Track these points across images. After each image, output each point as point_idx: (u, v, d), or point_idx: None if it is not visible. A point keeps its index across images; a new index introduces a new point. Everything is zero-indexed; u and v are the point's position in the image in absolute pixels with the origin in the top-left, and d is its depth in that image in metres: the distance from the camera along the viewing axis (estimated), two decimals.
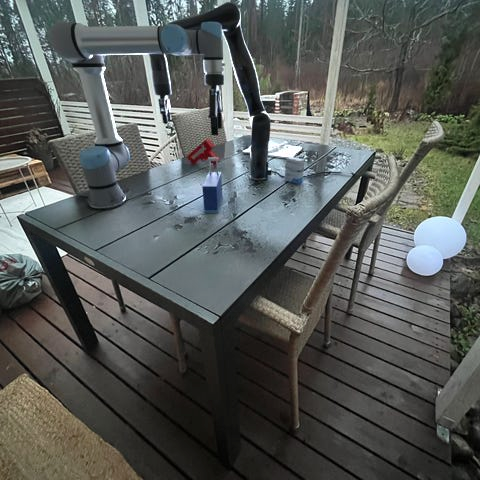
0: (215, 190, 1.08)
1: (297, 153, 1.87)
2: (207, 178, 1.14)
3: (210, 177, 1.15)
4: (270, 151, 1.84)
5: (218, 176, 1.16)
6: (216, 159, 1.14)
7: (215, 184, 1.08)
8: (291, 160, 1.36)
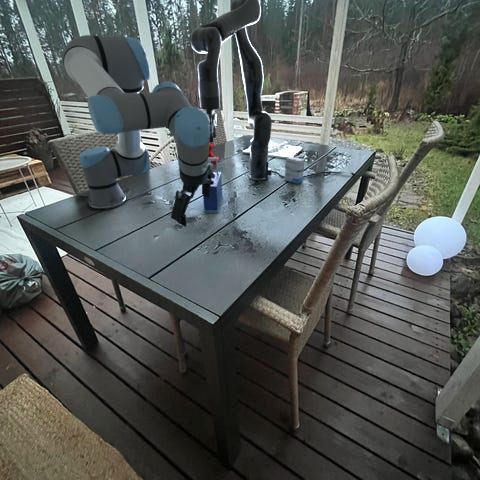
0: (215, 190, 1.08)
1: (297, 153, 1.87)
2: None
3: None
4: (270, 151, 1.84)
5: (218, 176, 1.16)
6: (216, 159, 1.14)
7: (215, 184, 1.08)
8: (291, 160, 1.36)
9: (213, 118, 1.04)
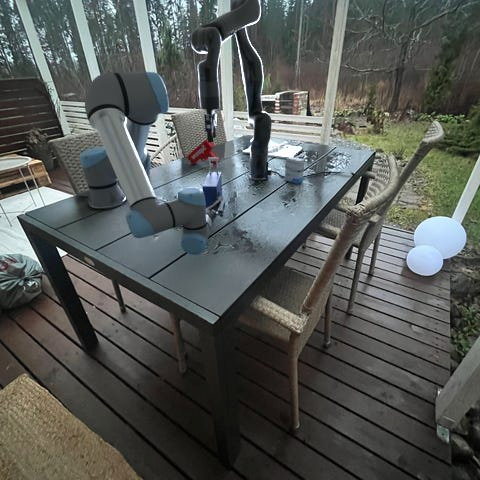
0: (215, 190, 1.08)
1: (297, 153, 1.87)
2: (207, 178, 1.14)
3: (210, 177, 1.15)
4: (270, 151, 1.84)
5: (218, 176, 1.16)
6: (216, 159, 1.14)
7: (215, 184, 1.08)
8: (291, 160, 1.36)
9: (213, 118, 1.04)
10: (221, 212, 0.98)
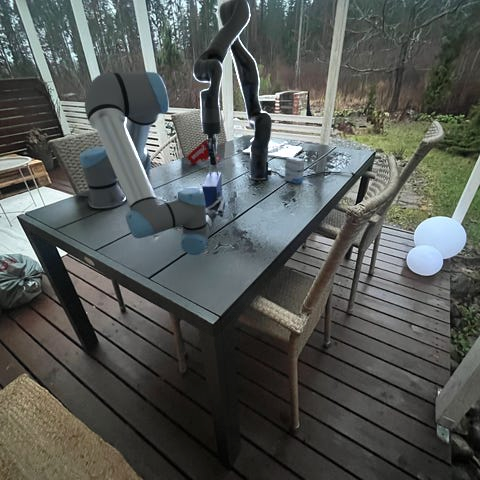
0: (215, 190, 1.07)
1: (297, 153, 1.87)
2: (207, 178, 1.14)
3: (210, 177, 1.15)
4: (270, 151, 1.84)
5: (218, 176, 1.16)
6: (216, 159, 1.14)
7: (215, 184, 1.08)
8: (291, 160, 1.36)
9: (215, 143, 1.09)
10: (221, 212, 0.98)
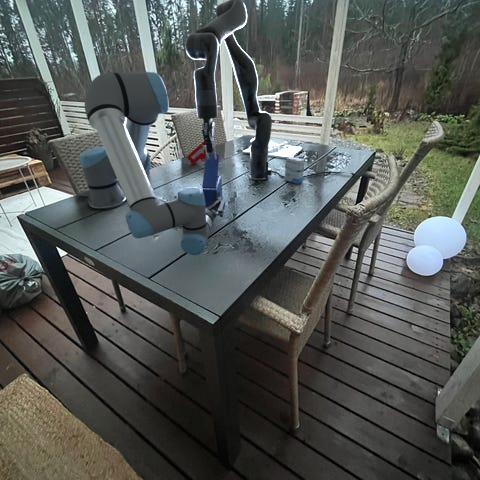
0: (215, 190, 1.07)
1: (297, 153, 1.87)
2: (206, 169, 1.10)
3: (208, 166, 1.10)
4: (270, 151, 1.84)
5: (216, 163, 1.11)
6: (213, 148, 1.05)
7: (215, 182, 1.07)
8: (291, 160, 1.36)
9: (211, 128, 1.00)
10: (221, 212, 0.98)
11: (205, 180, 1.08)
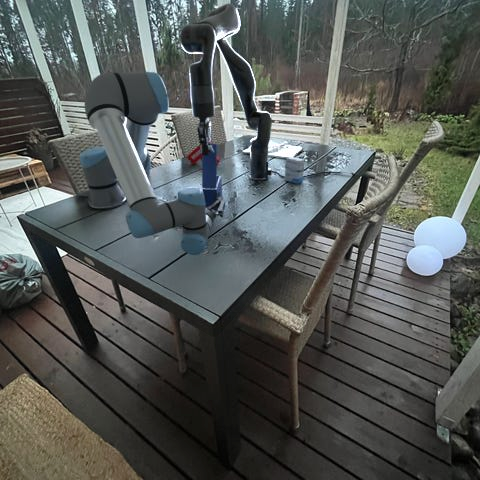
0: (215, 190, 1.07)
1: (297, 153, 1.87)
2: (204, 165, 1.06)
3: (206, 161, 1.05)
4: (270, 151, 1.84)
5: (214, 157, 1.05)
6: (210, 149, 0.98)
7: (214, 182, 1.06)
8: (291, 160, 1.36)
9: (207, 128, 0.92)
10: (221, 212, 0.98)
11: (204, 179, 1.06)
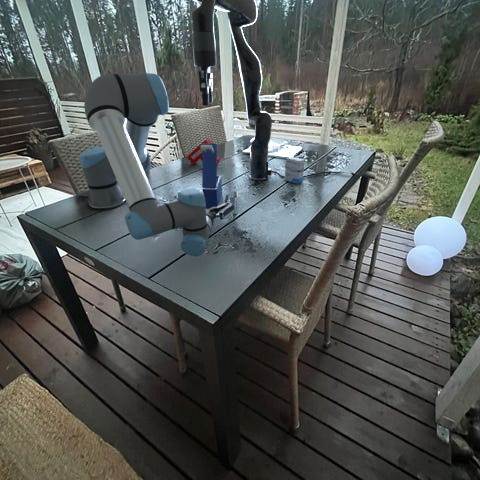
0: (215, 190, 1.07)
1: (297, 153, 1.87)
2: (204, 165, 1.06)
3: (206, 161, 1.06)
4: (270, 151, 1.84)
5: (214, 157, 1.05)
6: (210, 149, 0.99)
7: (214, 182, 1.06)
8: (291, 160, 1.36)
9: (209, 77, 0.92)
10: (220, 215, 0.96)
11: (204, 179, 1.06)
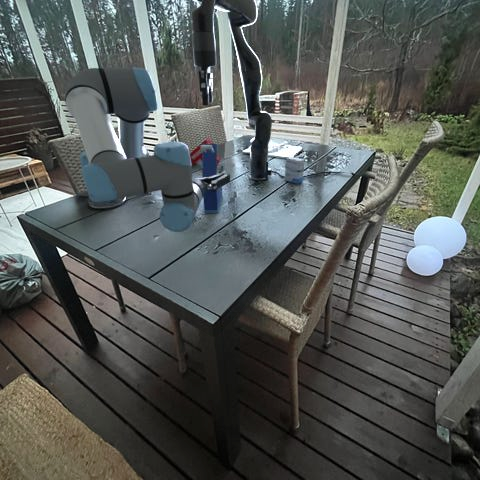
0: None
1: (297, 153, 1.87)
2: (204, 165, 1.06)
3: (206, 161, 1.06)
4: (270, 151, 1.84)
5: (214, 157, 1.05)
6: (210, 149, 0.99)
7: None
8: (291, 160, 1.36)
9: (209, 77, 0.92)
10: (213, 185, 0.78)
11: None
